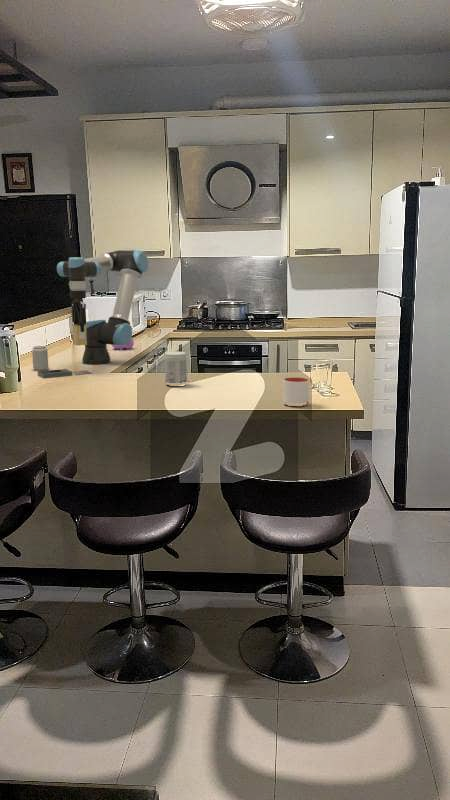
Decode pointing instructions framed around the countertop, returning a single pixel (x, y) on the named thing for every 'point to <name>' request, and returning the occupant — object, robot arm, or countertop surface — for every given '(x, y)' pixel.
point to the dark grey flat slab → (54, 373)
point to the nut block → (76, 336)
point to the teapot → (128, 345)
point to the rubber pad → (81, 372)
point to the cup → (295, 390)
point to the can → (40, 358)
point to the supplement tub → (175, 367)
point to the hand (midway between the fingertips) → (79, 337)
